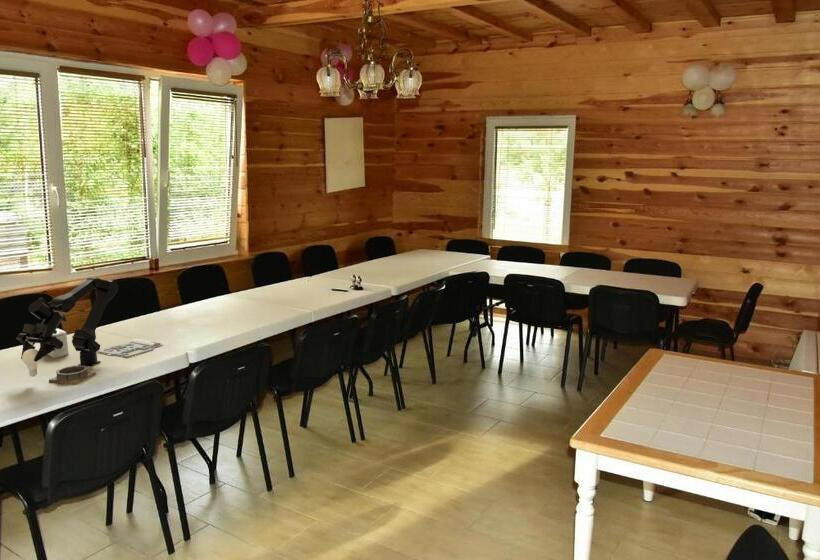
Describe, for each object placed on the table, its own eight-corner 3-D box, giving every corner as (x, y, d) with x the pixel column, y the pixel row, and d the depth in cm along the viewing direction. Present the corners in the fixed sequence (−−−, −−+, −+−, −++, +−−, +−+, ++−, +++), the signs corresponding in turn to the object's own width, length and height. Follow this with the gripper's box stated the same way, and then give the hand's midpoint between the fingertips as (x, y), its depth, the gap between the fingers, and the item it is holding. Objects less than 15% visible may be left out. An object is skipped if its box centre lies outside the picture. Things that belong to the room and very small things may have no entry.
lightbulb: (34, 379, 248) (31, 352, 246) (20, 378, 249) (17, 351, 247) (46, 374, 254) (43, 347, 252) (32, 372, 255) (29, 346, 253)
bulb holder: (70, 372, 267) (70, 364, 266) (96, 374, 264) (95, 366, 264) (48, 382, 255) (47, 373, 255) (75, 384, 253) (74, 375, 252)
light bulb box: (44, 353, 294) (42, 330, 292) (60, 350, 299) (58, 327, 297) (53, 358, 287) (50, 334, 285) (69, 354, 291) (66, 331, 289)
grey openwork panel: (139, 336, 314) (167, 341, 304) (139, 341, 315) (168, 347, 305) (96, 347, 294) (124, 354, 284) (96, 353, 295) (125, 359, 285)
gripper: (17, 313, 254) (-5, 348, 246) (53, 316, 248) (32, 352, 240) (36, 327, 263) (16, 361, 254) (72, 331, 257) (52, 366, 249)
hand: (28, 360), depth 249 cm, fingers closed on lightbulb, 6 cm apart
